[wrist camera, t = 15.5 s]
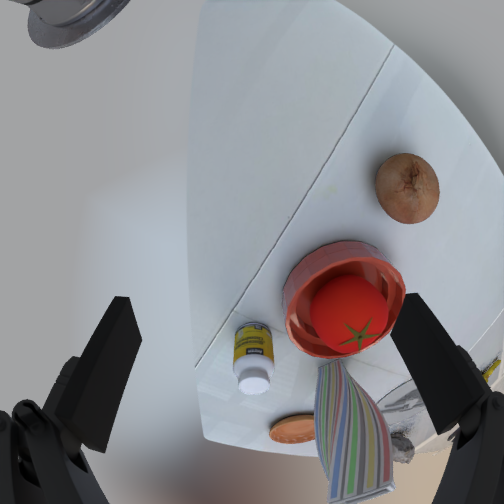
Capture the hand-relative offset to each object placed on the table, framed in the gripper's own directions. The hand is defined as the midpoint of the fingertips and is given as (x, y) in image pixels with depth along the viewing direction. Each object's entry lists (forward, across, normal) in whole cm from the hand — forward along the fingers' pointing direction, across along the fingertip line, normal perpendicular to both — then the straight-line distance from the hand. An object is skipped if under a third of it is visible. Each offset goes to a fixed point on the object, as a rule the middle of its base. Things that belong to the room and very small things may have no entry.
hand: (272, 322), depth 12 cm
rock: (+25, +54, -89) cm, 107 cm away
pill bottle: (+26, 0, -26) cm, 37 cm away
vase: (+26, +17, -37) cm, 49 cm away
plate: (+25, +48, -60) cm, 81 cm away
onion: (+27, +20, +2) cm, 34 cm away
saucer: (+26, +13, -62) cm, 69 cm away
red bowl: (+26, +14, -17) cm, 35 cm away
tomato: (+26, +14, -17) cm, 34 cm away
